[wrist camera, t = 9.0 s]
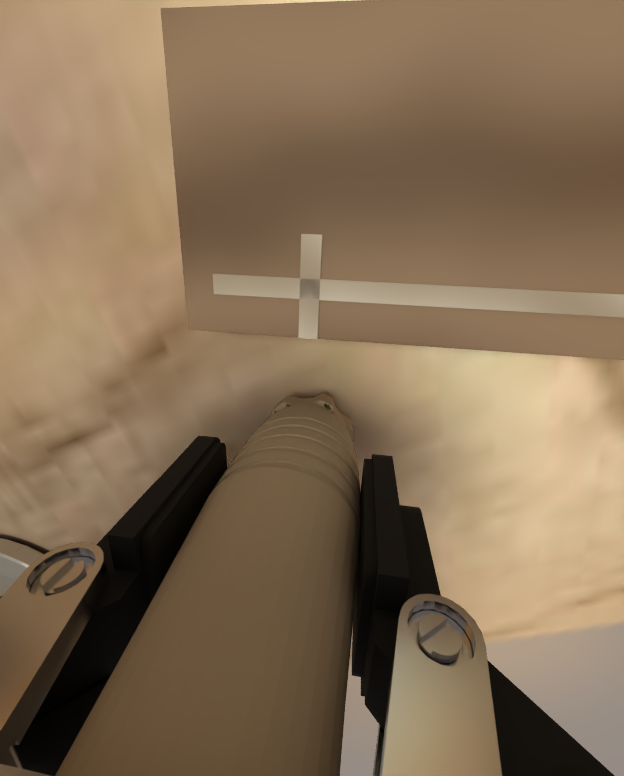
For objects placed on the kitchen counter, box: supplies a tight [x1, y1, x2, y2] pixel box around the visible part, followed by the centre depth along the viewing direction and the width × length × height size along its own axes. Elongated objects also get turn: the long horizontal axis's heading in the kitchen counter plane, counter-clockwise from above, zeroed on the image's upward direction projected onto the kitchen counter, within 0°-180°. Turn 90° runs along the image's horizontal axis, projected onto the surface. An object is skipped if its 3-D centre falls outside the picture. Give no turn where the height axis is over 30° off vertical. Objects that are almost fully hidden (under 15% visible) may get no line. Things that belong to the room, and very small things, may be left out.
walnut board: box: [161, 0, 624, 360], centre depth 10 cm, size 8×22×3 cm, turn 87°
